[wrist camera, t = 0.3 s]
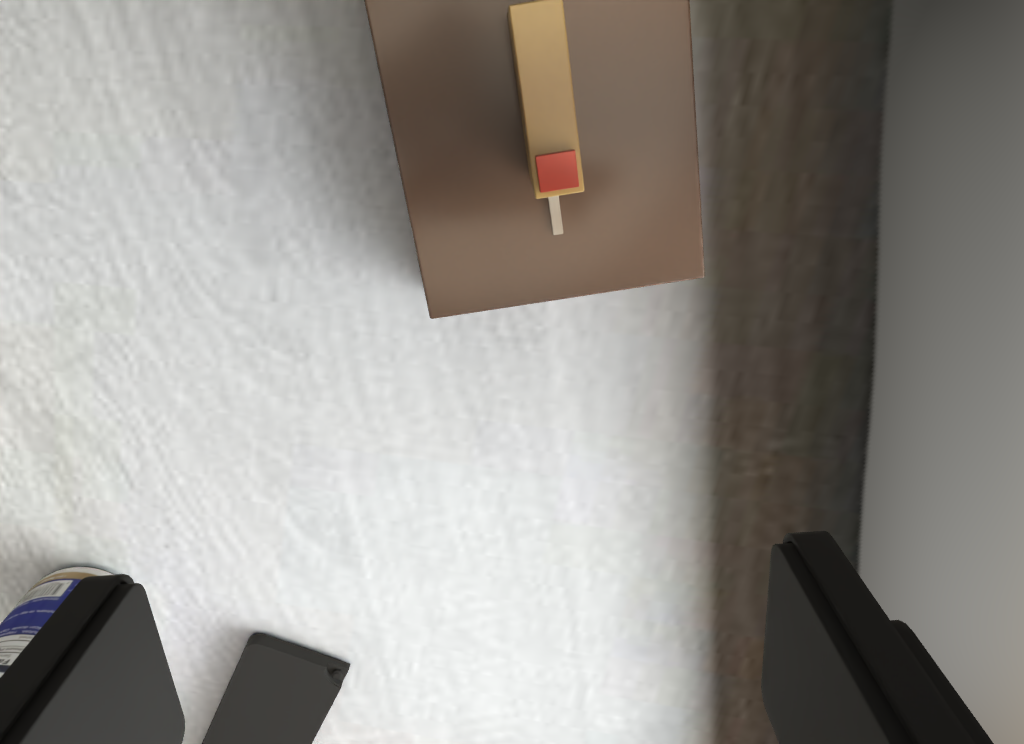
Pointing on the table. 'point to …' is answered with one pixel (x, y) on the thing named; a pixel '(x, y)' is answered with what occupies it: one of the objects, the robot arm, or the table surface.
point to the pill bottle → (37, 610)
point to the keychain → (276, 695)
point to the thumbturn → (546, 96)
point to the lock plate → (503, 160)
